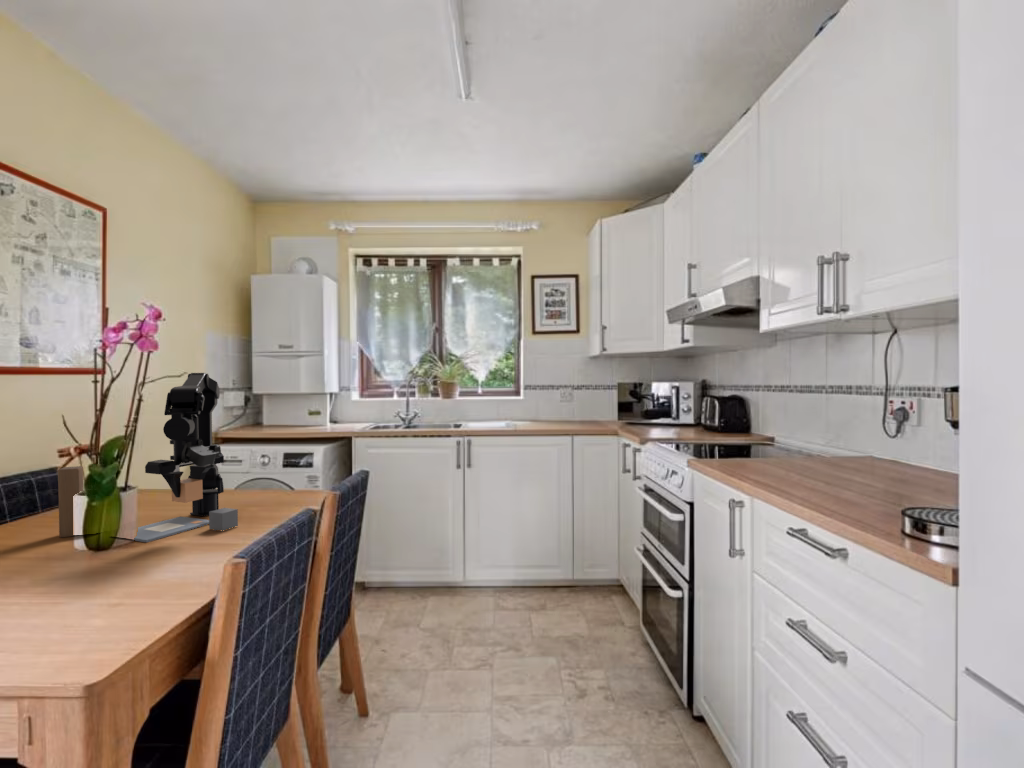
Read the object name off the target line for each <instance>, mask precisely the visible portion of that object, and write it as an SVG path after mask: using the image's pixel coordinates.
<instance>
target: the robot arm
mask: <svg viewBox="0 0 1024 768" xmlns="http://www.w3.org/2000/svg"><path fill="white" fill-rule="evenodd" d="M219 399H220V386H219V384H218V382H217V381H216V380H214V379H213V378H211V377H210V375H209V373H207V372H190V373H188V375H187V378H186V380H185V381H184V382H183V384H182V385H179V386H174V387H172V388H171V389H170V390H169V392H168V393H167V396H166V400H165V407H164V416H171V418H169V419H168V420H167V421H166V422H165V423H164V426H163V429H162V430H163V434H164V436H165V437H166V438H167V439H169V444H170V445H173V454H172V455H170V456H169V459H156V460H149V461H147V462H146V464H145V465H144V466H145V467H144V470H145V471H144V473H145V474H152V475H161V476H162V477H163V479H164V480H165V481H166V483H167V485H169V487H170V489H171V492H172V491H173V493H174V495H175V496H176V497H180V492H181V486H180V480H181V477H182V476H183V474H184V471H181V470H180V468H181V467H188V466H189V475H188V478H190V479H200V480H202V484H203V499H199V500H195V501H191V502H192V506H191V507H192V509H191V510H192V512H189V514H191V516H199V517H207V515H208V516H209V512H210V511H214V510H218V509H220V508H219V506H220V505H219V503H220V502H219V495H220V494H222V493H224V492H225V491H224V490H225V489H224V488H225V487H224V481H223V478H222V476H221V473H219V467H218V465H219V464H223V463H225V455H223V453H222V450H221V446H220V444H219V445H218V444H213V424H212V423H213V420H212V419H213V414H212V413H213V411H214V410H215V408H216V407H217V406H218V400H219ZM217 464H218V465H217ZM188 478H187V479H188Z"/></svg>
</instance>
